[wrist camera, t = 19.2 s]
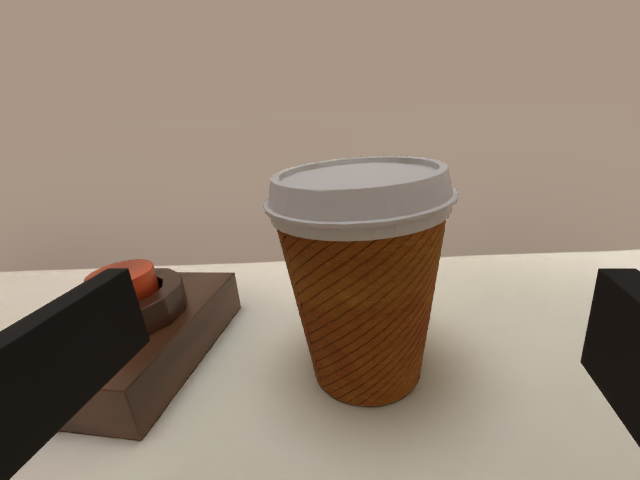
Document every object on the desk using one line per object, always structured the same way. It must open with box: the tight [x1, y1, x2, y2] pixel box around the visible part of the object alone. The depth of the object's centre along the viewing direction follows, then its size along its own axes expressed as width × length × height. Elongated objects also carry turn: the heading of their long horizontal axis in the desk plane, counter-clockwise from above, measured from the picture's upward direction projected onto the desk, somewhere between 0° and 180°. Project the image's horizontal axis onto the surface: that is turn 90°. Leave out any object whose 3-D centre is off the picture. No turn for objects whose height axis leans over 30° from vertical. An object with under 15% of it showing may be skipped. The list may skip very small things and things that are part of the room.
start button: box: [84, 259, 159, 301], centre depth 23 cm, size 4×4×2 cm
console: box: [59, 268, 241, 440], centre depth 24 cm, size 9×13×5 cm
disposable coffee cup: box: [263, 156, 458, 406], centre depth 20 cm, size 10×10×12 cm
